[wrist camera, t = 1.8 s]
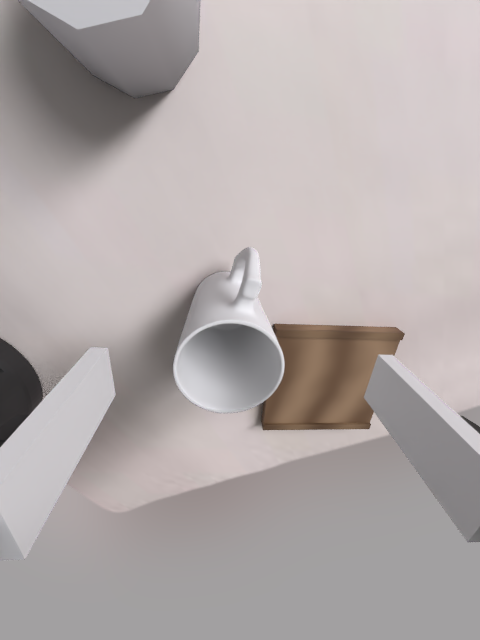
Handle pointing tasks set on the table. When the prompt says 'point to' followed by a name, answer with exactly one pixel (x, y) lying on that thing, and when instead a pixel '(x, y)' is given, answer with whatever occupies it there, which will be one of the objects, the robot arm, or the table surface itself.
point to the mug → (229, 342)
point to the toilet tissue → (126, 39)
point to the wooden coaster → (326, 376)
